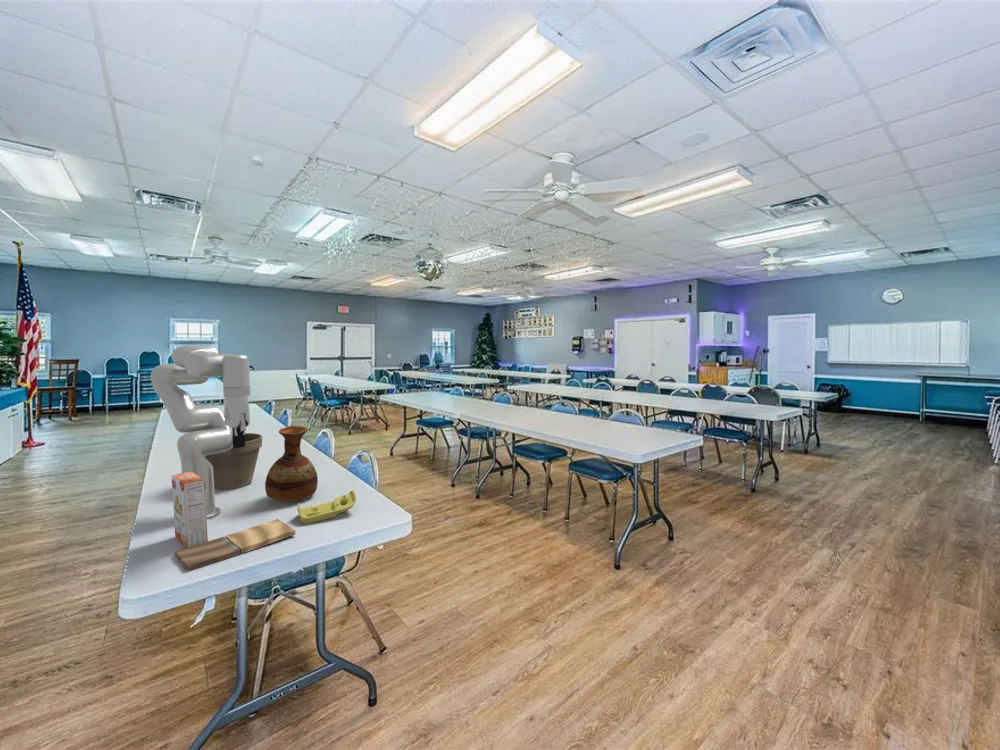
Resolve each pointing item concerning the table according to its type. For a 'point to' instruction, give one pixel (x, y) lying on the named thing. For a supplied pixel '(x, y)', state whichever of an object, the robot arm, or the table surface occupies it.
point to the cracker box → (189, 508)
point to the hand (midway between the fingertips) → (238, 447)
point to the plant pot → (236, 464)
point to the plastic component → (327, 509)
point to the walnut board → (206, 553)
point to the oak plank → (260, 535)
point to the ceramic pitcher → (291, 470)
